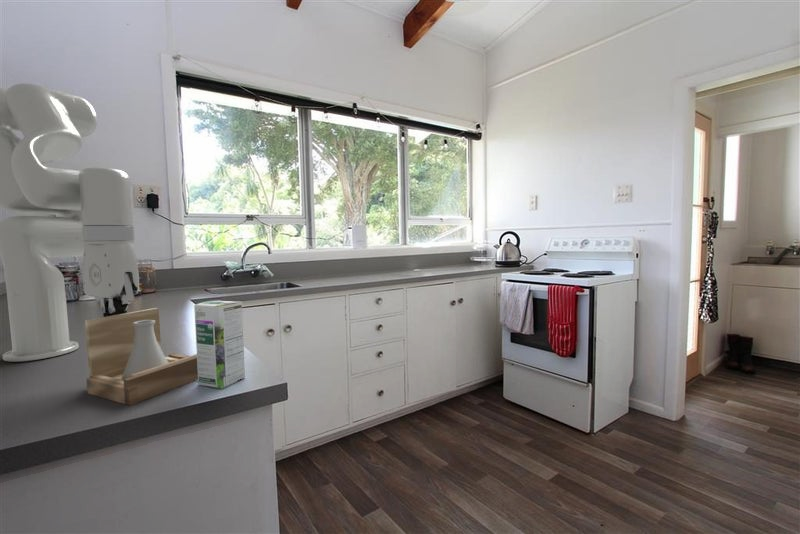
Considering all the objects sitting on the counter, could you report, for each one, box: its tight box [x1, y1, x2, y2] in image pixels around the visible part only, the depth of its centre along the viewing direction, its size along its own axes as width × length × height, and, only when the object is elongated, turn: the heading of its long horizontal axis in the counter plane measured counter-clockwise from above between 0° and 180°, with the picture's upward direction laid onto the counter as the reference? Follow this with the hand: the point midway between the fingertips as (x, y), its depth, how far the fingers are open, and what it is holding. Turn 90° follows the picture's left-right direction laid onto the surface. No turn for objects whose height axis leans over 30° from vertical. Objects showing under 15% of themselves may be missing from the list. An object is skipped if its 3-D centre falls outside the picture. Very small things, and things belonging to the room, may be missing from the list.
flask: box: [121, 320, 168, 379], centre depth 67 cm, size 7×7×10 cm
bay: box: [86, 352, 198, 407], centre depth 66 cm, size 12×15×4 cm
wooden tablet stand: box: [84, 307, 197, 384], centre depth 67 cm, size 13×12×12 cm
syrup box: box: [194, 300, 246, 390], centre depth 66 cm, size 6×6×14 cm
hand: (116, 331), depth 71 cm, fingers closed
